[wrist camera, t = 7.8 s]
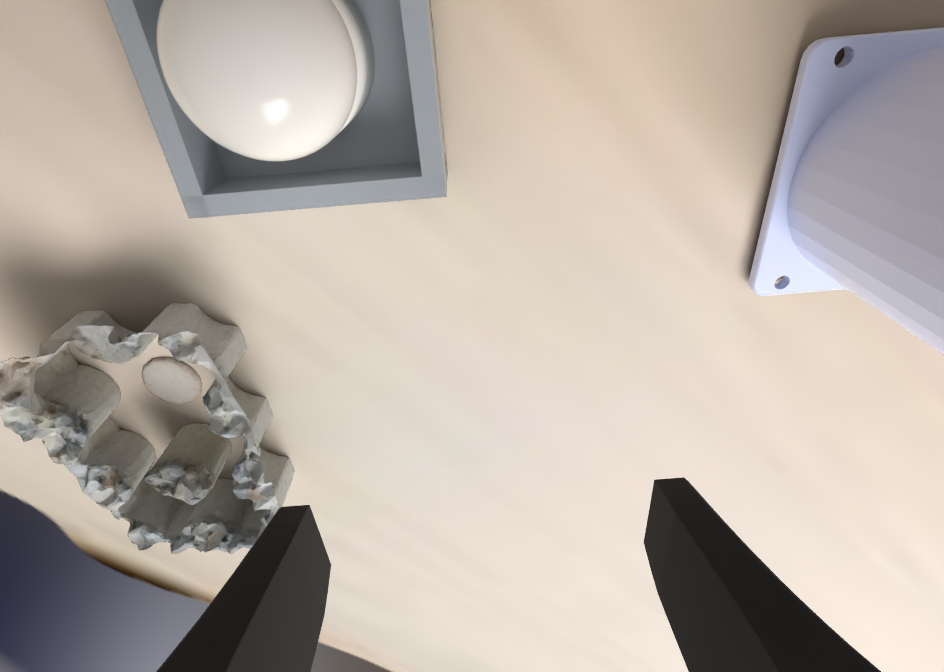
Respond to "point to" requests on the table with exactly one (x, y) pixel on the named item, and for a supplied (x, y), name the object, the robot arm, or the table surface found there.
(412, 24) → the holder
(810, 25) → the table surface
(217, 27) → the cream egg
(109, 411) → the egg carton
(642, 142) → the table surface
